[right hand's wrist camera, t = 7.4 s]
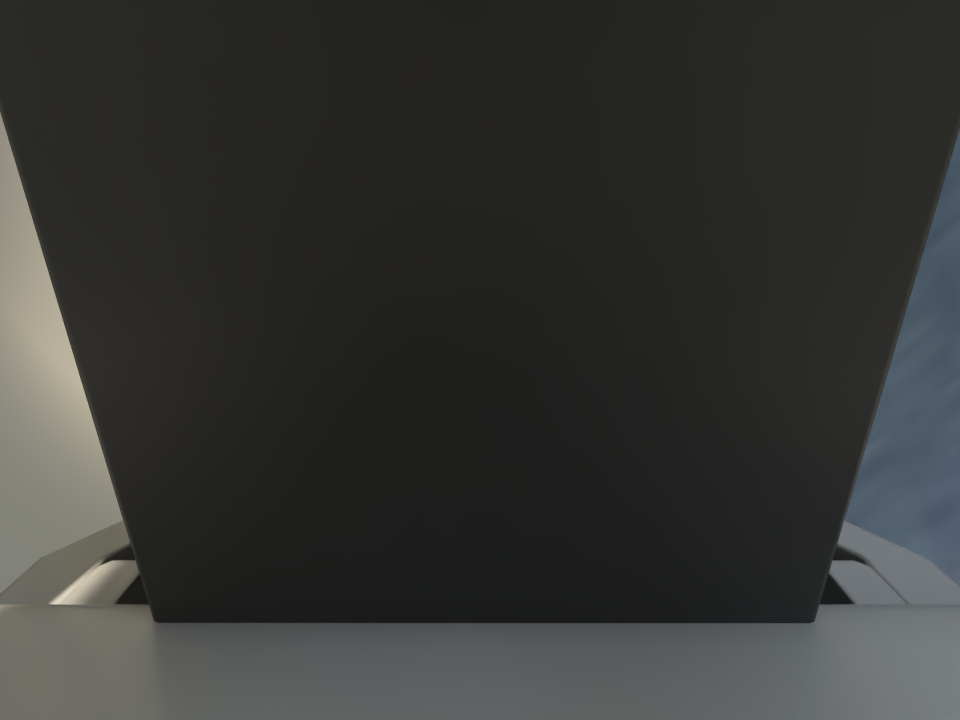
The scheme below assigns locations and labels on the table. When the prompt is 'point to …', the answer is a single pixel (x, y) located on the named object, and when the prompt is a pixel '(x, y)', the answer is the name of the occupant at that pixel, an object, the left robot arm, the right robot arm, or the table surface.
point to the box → (482, 290)
